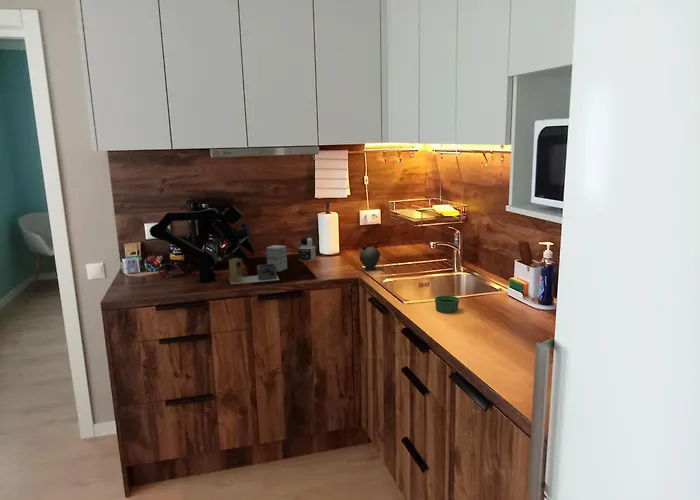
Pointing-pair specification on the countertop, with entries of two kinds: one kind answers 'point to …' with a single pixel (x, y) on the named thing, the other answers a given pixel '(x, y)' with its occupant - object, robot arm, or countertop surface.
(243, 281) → the white board
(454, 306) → the ramekin
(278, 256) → the supplement box
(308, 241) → the medicine bottle
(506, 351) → the countertop surface
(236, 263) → the beige tall block
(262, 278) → the collar stand
